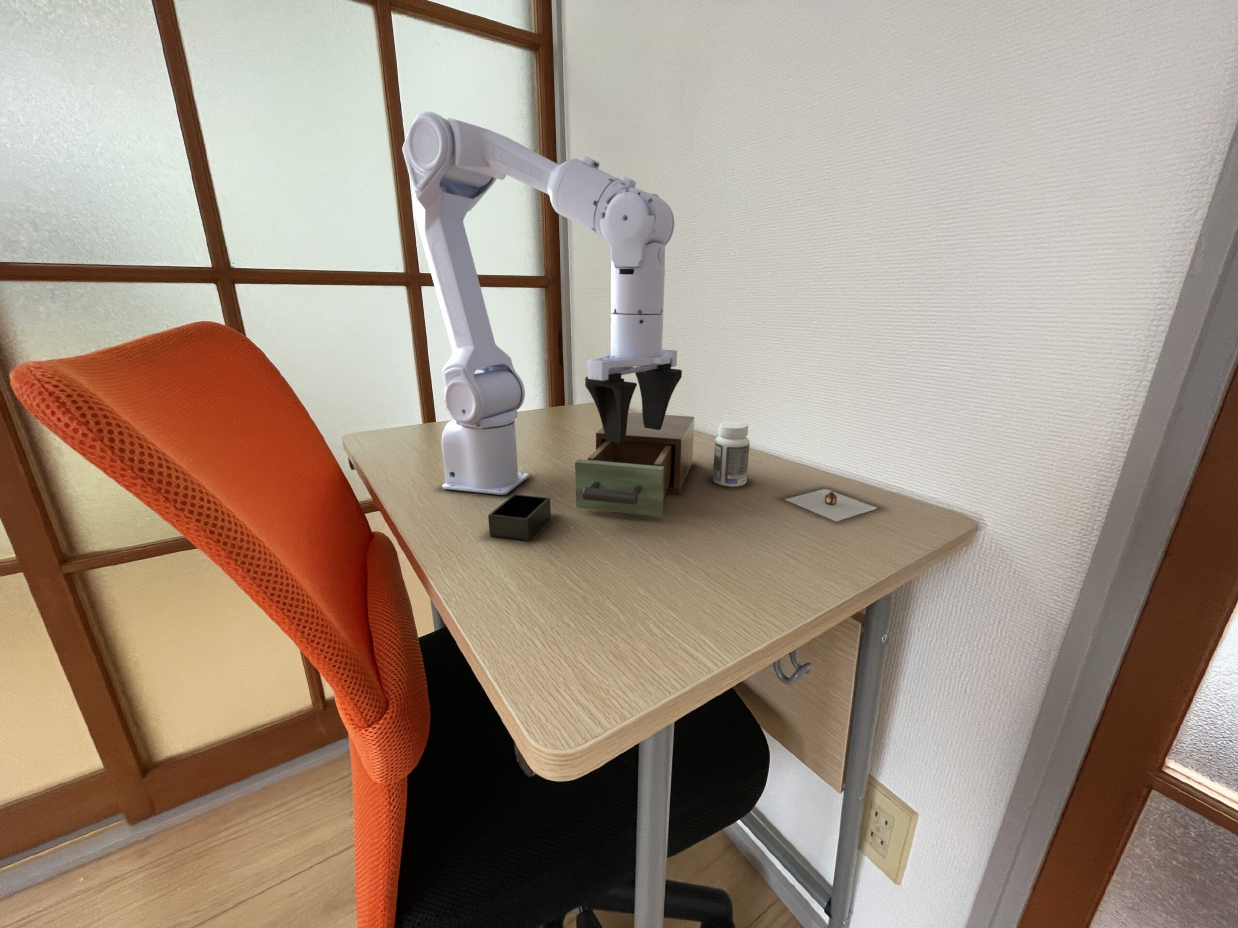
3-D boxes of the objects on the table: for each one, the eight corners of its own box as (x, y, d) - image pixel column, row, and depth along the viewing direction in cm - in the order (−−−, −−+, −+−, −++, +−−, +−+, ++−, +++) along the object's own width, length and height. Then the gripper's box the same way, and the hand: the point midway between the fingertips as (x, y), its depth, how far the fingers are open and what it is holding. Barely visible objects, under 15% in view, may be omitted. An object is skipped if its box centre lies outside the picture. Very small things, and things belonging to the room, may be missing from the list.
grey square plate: (878, 508, 66) (880, 494, 66) (836, 521, 62) (838, 506, 62) (824, 488, 73) (826, 475, 72) (784, 499, 69) (785, 486, 68)
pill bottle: (751, 480, 76) (756, 423, 73) (739, 489, 72) (744, 430, 69) (720, 474, 78) (723, 418, 76) (707, 483, 74) (710, 425, 72)
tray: (489, 536, 58) (488, 514, 57) (515, 513, 64) (514, 493, 63) (528, 541, 57) (527, 519, 56) (551, 517, 63) (550, 497, 62)
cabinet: (679, 494, 70) (681, 439, 68) (596, 485, 73) (595, 432, 71) (692, 463, 83) (694, 416, 81) (620, 457, 86) (621, 411, 83)
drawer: (654, 531, 57) (655, 481, 56) (564, 520, 60) (563, 472, 58) (677, 481, 72) (679, 441, 71) (604, 474, 75) (604, 435, 73)
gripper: (627, 317, 49) (625, 455, 54) (701, 313, 61) (695, 428, 65) (571, 314, 53) (573, 443, 58) (650, 311, 65) (647, 419, 69)
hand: (634, 434), depth 61 cm, fingers open, 7 cm apart
